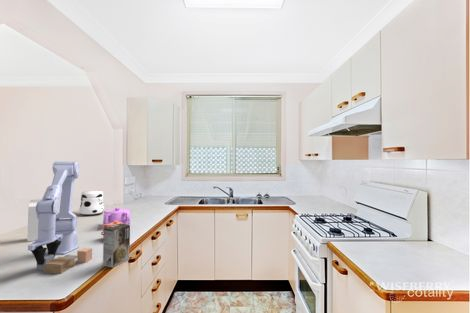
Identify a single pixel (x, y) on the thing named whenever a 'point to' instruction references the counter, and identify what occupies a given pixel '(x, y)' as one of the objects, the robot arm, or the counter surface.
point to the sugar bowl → (110, 225)
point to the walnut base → (59, 264)
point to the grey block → (45, 261)
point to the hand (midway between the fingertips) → (45, 261)
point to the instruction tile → (71, 256)
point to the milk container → (91, 203)
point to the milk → (32, 221)
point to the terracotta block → (84, 255)
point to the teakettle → (117, 216)
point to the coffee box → (116, 245)
